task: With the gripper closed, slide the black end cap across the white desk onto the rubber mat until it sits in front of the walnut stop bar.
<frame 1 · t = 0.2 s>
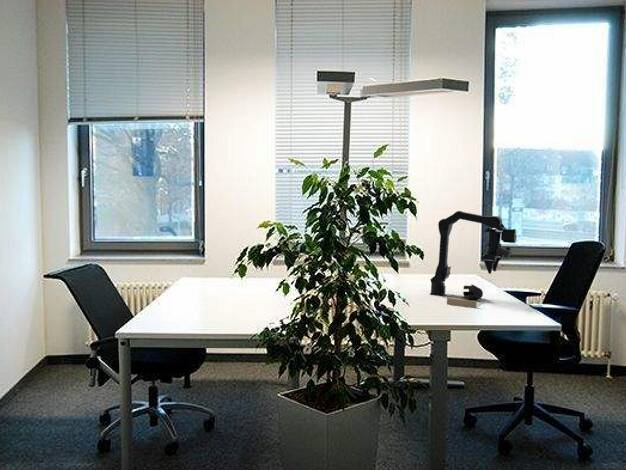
hand: (492, 272, 324), 14 cm above the table, tool pointing down, fingers open, 9 cm apart
end cap: (472, 299, 327), on the table, touching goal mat
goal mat: (465, 303, 316), on the table
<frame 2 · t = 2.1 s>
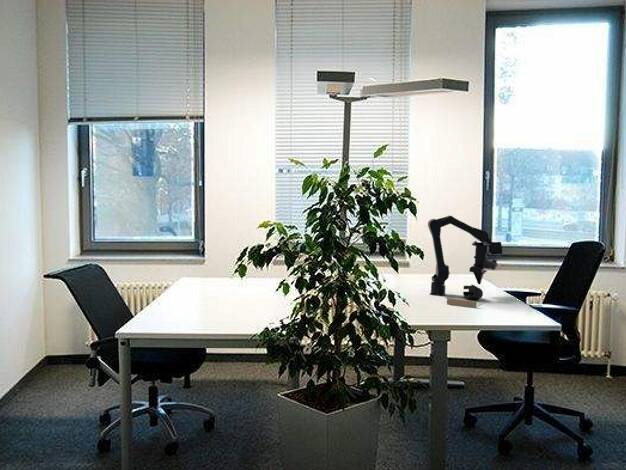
hand: (479, 284, 337), 6 cm above the table, tool pointing down, fingers closed
nothing on the table moved.
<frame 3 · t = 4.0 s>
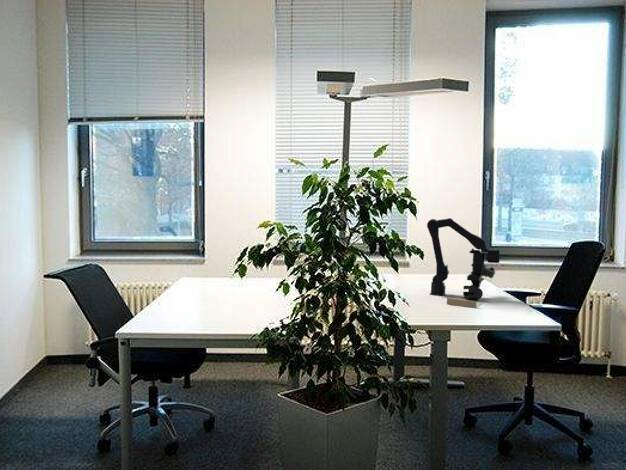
hand: (476, 292, 333), 2 cm above the table, tool pointing down, fingers closed
end cap: (472, 299, 327), on the table, touching gripper
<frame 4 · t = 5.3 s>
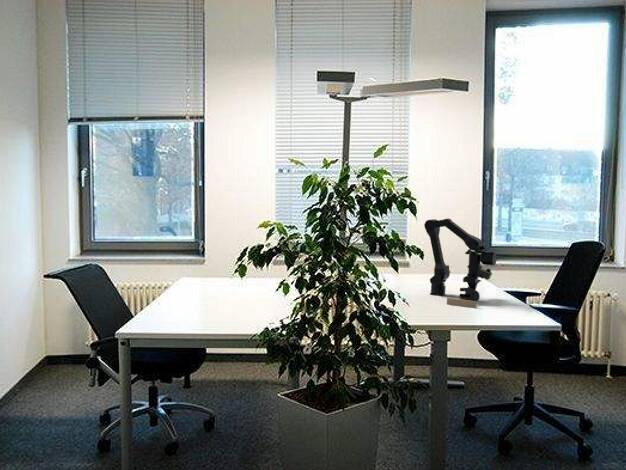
hand: (473, 294, 327), 3 cm above the table, tool pointing down, fingers closed
end cap: (469, 302, 320), on the table, touching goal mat, gripper
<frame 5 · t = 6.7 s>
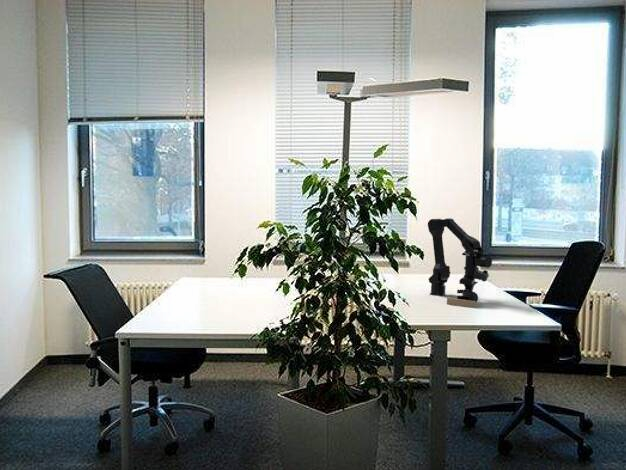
hand: (469, 296, 322), 3 cm above the table, tool pointing down, fingers closed
end cap: (466, 304, 315), on the table, touching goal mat, gripper
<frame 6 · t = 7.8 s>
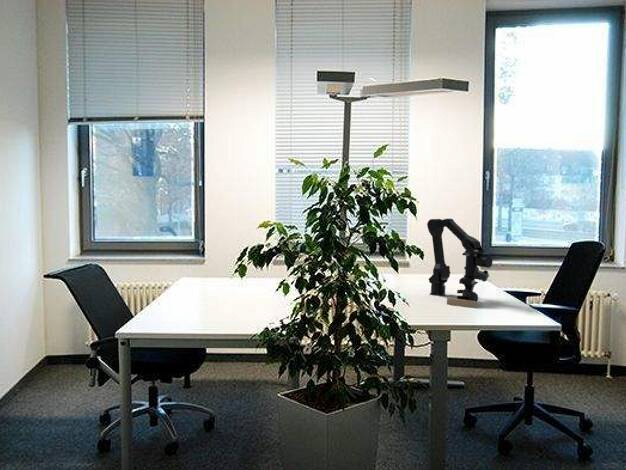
hand: (469, 296, 322), 2 cm above the table, tool pointing down, fingers closed
end cap: (466, 304, 315), on the table, touching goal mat
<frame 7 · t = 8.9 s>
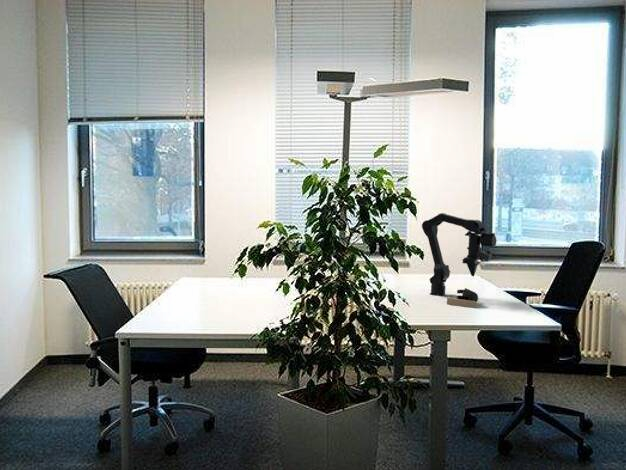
hand: (472, 276, 325), 12 cm above the table, tool pointing down, fingers closed
nothing on the table moved.
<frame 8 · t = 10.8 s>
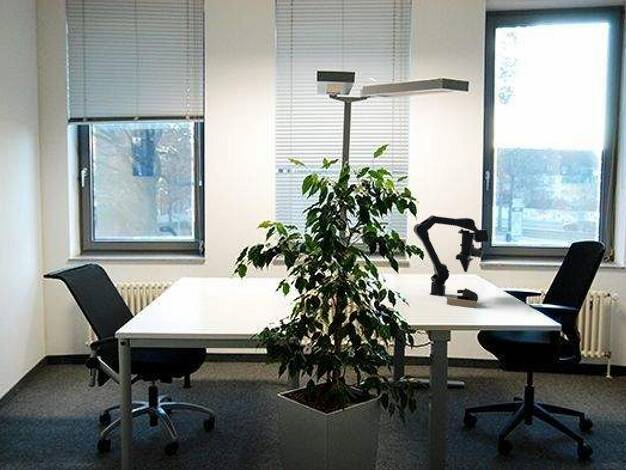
hand: (465, 272, 338), 12 cm above the table, tool pointing down, fingers closed
nothing on the table moved.
at the end: end cap inside the target area on the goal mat (0.9 cm from its centre), point 0.0 cm above the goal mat's base; end cap tilted 0°; end cap moved 13.3 cm from its start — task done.
